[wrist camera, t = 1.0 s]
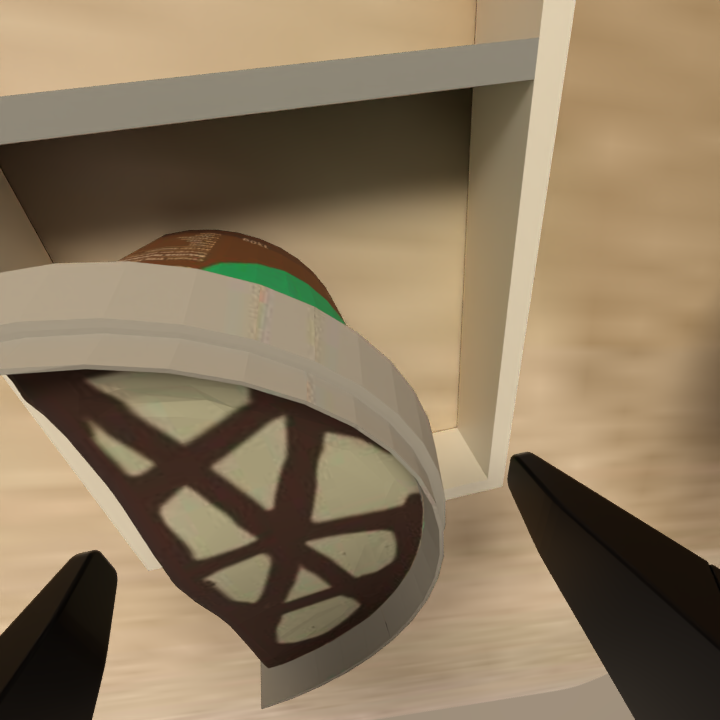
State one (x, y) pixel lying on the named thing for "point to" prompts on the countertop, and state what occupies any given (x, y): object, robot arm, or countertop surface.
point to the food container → (241, 440)
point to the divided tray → (353, 84)
